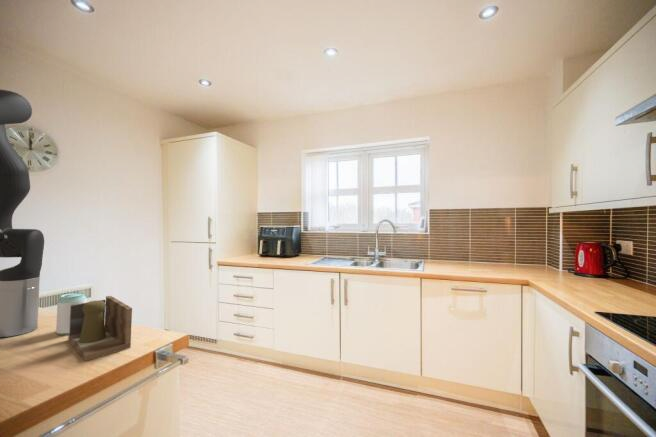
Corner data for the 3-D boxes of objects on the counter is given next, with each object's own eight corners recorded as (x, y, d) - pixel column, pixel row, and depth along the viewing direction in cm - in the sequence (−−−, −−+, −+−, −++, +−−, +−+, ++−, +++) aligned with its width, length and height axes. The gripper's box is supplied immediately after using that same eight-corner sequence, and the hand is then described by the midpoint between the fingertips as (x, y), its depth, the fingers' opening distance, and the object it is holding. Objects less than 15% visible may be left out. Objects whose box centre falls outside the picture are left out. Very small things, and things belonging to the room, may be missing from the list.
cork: (80, 345, 76) (81, 305, 76) (78, 338, 80) (79, 301, 80) (107, 338, 80) (109, 301, 80) (104, 332, 84) (105, 297, 85)
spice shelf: (68, 339, 83) (69, 302, 83) (109, 330, 91) (110, 295, 91) (85, 361, 71) (87, 316, 71) (130, 347, 79) (132, 308, 79)
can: (59, 337, 84) (61, 298, 84) (53, 332, 88) (54, 295, 88) (88, 330, 90) (90, 294, 90) (81, 325, 94) (82, 290, 94)
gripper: (-38, 190, 59) (36, 241, 68) (-37, 193, 68) (29, 238, 77) (-83, 213, 55) (2, 264, 64) (-76, 213, 64) (-2, 258, 72)
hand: (17, 249), depth 70 cm, fingers open, 8 cm apart
